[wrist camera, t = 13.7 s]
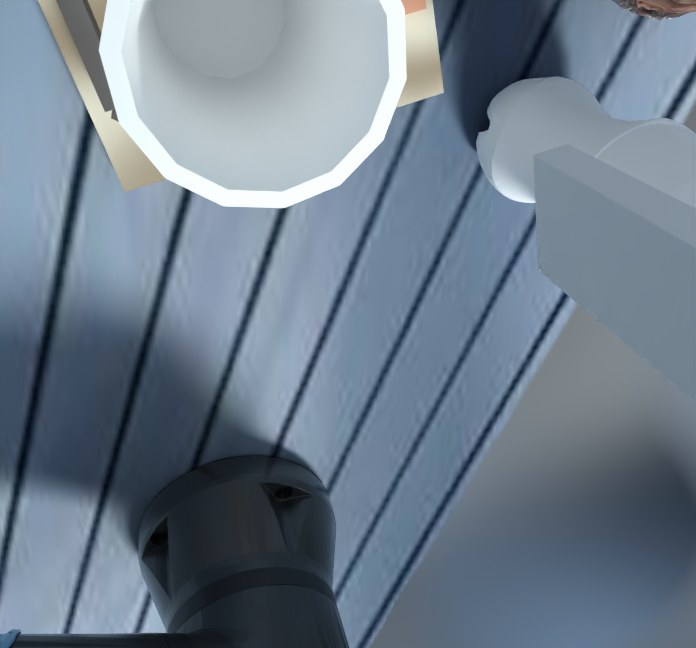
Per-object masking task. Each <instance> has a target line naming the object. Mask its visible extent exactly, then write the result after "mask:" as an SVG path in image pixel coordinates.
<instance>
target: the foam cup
mask: <svg viewBox="0 0 696 648" xmlns="http://www.w3.org/2000/svg"><path fill="white" fill-rule="evenodd" d="M99 53H100V56H101V60H102V64H103V67H104V71H105V74H106V78H107V81H108V85H109V89H110V92H111V96H112V99H113V103H114V106H115V110H116V113H117V117H118V121H119V124H120V125H121V126H122V127H123V129H124V130H125V131H126V132H127V133H128V135H129V136H130V137H131V138H132V139H133V141H134V142H135V143H136V144H137V145H138V147H139V148H140V149H141V150H142V151H143V152H144V154H145V155H146V156H147V157H148V158H149V160H150V161H151V162H152V163H153V164H154V166H155V167H156V168H157V169H158V170H159V172H160V173H161V174H162V175H163V176H164V177H165V178H166V179H168V180H170V181H172V182H174V183H176V184H178V185H180V186H183V187H185V188H187V189H189V190H191V191H193V192H195V193H197V194H199V195H201V196H203V197H205V198H207V199H209V200H211V201H213V202H215V203H218V204H220V205H222V206H230V207H265V208H286V207H288V206H291V205H293V204H295V203H298V202H300V201H303V200H305V199H308V198H310V197H312V196H315V195H317V194H320V193H322V192H324V191H327V190H329V189H332V188H334V187H336V186H339V185H341V184H342V183H343V181H344V180H345V179H346V178H347V177H348V176H349V175H350V174H351V173H352V172H353V171H354V170H355V169H356V168H357V167H358V166H359V165H360V164H361V163H362V162H363V161H364V160H365V159H366V158H367V157H368V156H369V154H370V153H371V152H372V151H373V150H374V149H375V148H376V147H377V146H378V145H379V144H380V143H381V142H382V141H383V139H384V137H385V134H386V131H387V129H388V126H389V124H390V121H391V118H392V116H393V113H394V111H395V108H396V105H397V103H398V100H399V98H400V95H401V93H402V90H403V87H404V85H405V82H406V80H407V73H406V36H405V8H404V6H403V4H402V2H401V0H107V5H106V11H105V17H104V22H103V28H102V34H101V39H100V45H99Z"/></svg>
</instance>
